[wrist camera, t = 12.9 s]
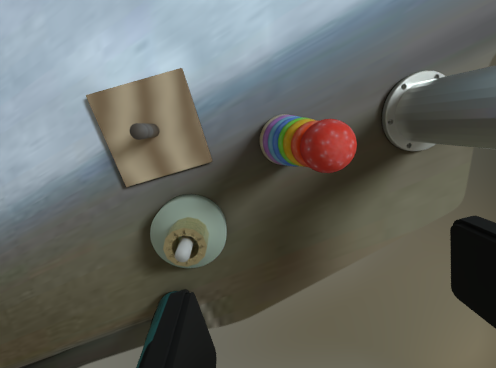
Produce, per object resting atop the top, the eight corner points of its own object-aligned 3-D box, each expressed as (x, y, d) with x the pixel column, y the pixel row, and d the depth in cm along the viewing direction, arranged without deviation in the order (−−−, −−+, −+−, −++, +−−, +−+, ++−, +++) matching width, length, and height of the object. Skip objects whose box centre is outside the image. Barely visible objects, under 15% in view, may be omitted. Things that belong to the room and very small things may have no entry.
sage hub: (214, 185, 38) (211, 202, 30) (234, 246, 42) (237, 278, 33) (144, 206, 38) (120, 229, 30) (170, 266, 41) (156, 303, 33)
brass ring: (211, 221, 37) (210, 232, 33) (204, 254, 38) (201, 269, 34) (173, 214, 36) (167, 224, 32) (167, 248, 37) (160, 262, 33)
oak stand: (182, 69, 34) (172, 55, 27) (212, 160, 37) (209, 168, 31) (89, 96, 33) (55, 88, 27) (128, 185, 37) (107, 198, 30)
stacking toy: (302, 166, 39) (368, 200, 21) (256, 161, 38) (284, 194, 20) (310, 117, 37) (391, 110, 19) (262, 111, 36) (298, 98, 18)
